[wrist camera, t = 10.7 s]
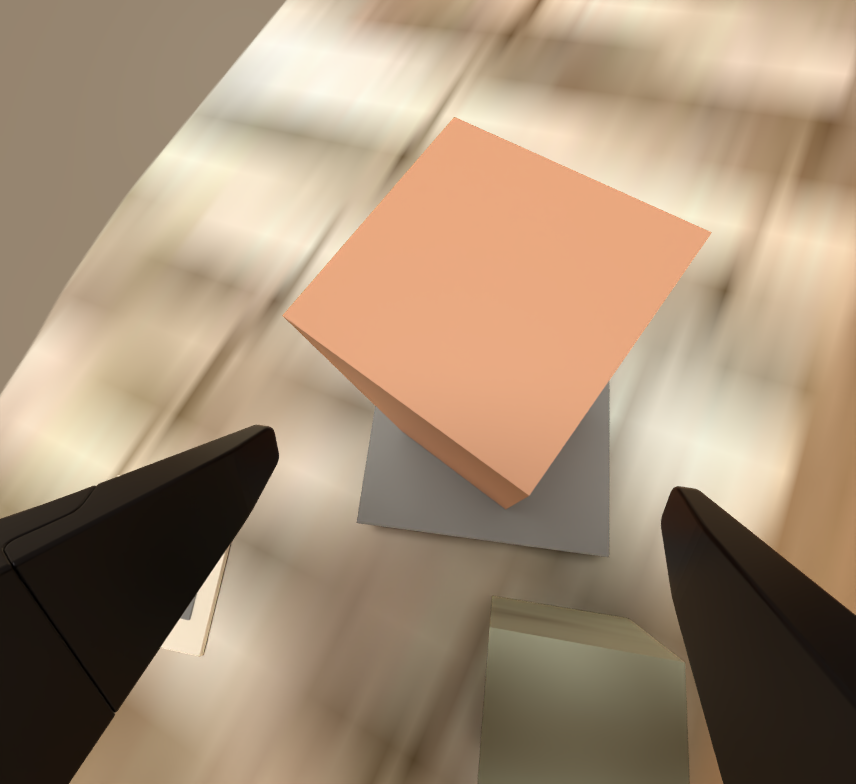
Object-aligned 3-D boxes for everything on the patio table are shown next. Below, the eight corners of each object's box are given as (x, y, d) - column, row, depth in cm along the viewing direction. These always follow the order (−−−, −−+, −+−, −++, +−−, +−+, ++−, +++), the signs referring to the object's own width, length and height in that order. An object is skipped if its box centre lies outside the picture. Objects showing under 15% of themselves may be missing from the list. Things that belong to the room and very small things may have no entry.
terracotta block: (505, 509, 18) (529, 495, 7) (401, 430, 20) (282, 315, 9) (580, 402, 19) (711, 232, 8) (474, 335, 21) (454, 116, 9)
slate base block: (593, 551, 20) (609, 557, 17) (374, 522, 22) (356, 522, 19) (595, 340, 23) (609, 315, 20) (403, 332, 25) (390, 308, 22)
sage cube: (628, 780, 17) (694, 913, 11) (480, 745, 18) (472, 849, 12) (628, 618, 18) (685, 662, 13) (492, 595, 20) (489, 627, 14)
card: (203, 654, 21) (197, 657, 20) (73, 625, 22) (65, 626, 22) (243, 492, 23) (238, 492, 23) (122, 475, 25) (116, 474, 24)
